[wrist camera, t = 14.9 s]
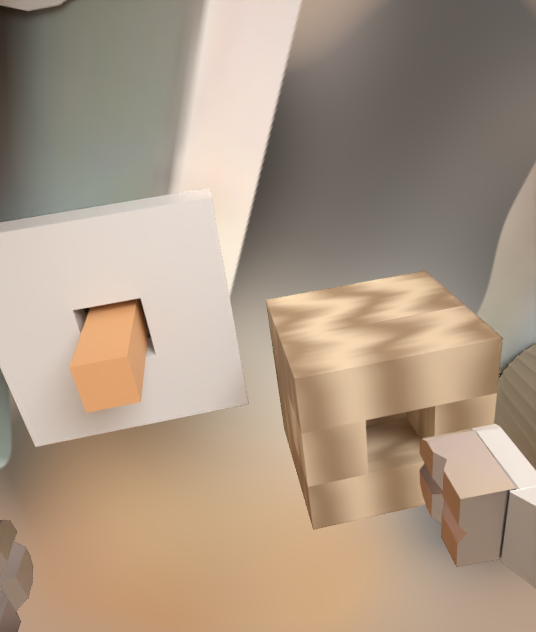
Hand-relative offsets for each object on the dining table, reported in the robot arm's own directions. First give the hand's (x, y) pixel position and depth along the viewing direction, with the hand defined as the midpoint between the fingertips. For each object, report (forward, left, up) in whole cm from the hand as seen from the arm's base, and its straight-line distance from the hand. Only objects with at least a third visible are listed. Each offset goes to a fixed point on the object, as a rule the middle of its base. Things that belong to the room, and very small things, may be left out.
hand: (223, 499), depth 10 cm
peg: (+8, +10, -31) cm, 34 cm away
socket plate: (+8, +10, -31) cm, 34 cm away
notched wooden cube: (-11, +18, -31) cm, 38 cm away
